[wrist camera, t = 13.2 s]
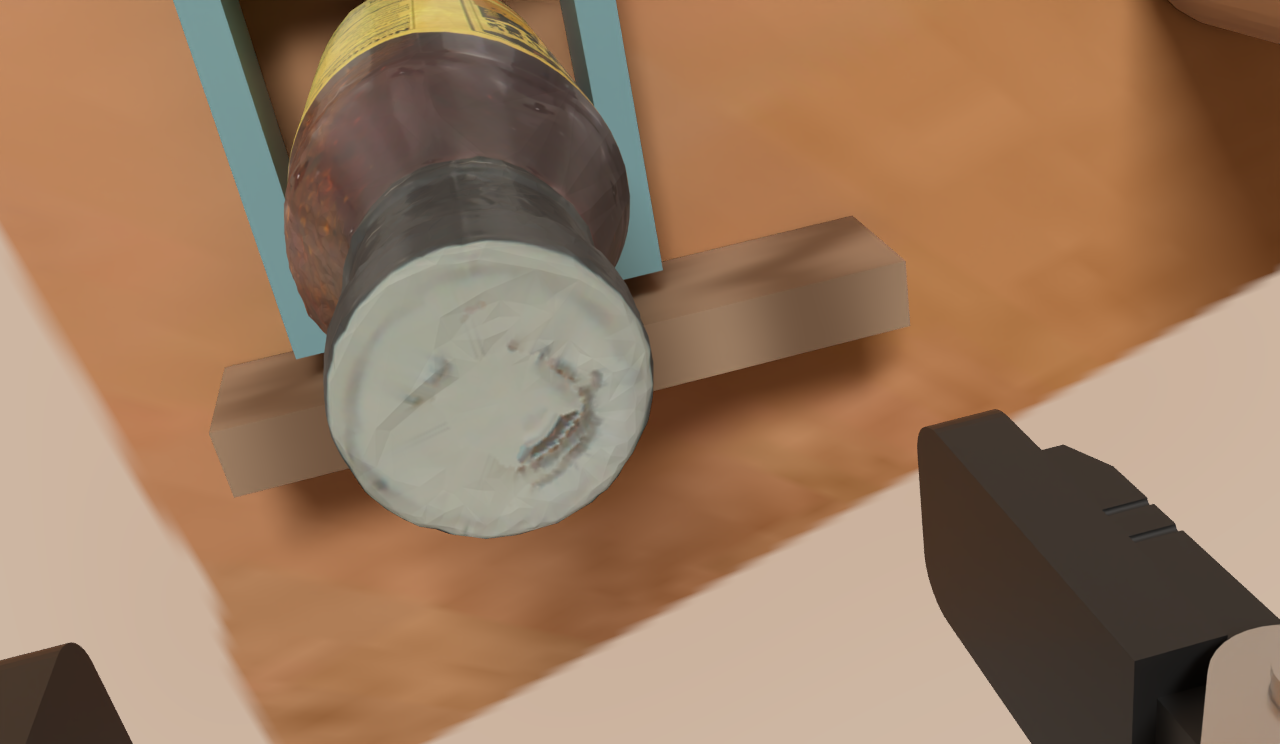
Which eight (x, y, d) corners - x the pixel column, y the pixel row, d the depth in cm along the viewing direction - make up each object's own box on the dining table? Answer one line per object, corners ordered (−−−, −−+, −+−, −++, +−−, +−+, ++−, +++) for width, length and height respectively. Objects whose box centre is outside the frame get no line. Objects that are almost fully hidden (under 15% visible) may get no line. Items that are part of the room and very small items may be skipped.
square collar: (566, -171, 30) (586, -168, 27) (640, 234, 35) (662, 270, 32) (165, -91, 29) (146, -80, 26) (301, 315, 34) (296, 359, 31)
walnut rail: (852, 215, 36) (905, 260, 33) (857, 275, 37) (910, 325, 34) (224, 367, 34) (209, 433, 31) (247, 427, 35) (234, 497, 32)
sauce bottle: (578, 160, 34) (812, 552, 16) (368, 235, 33) (374, 717, 16) (501, -75, 31) (686, 95, 13) (268, 4, 30) (140, 286, 13)
